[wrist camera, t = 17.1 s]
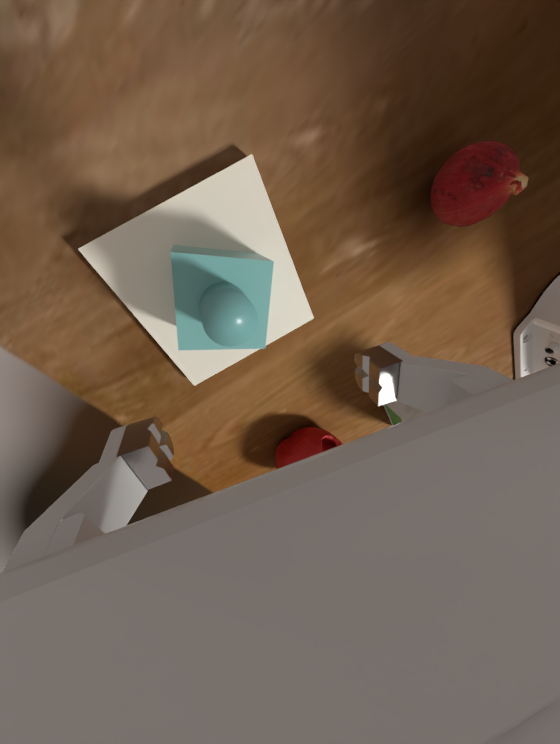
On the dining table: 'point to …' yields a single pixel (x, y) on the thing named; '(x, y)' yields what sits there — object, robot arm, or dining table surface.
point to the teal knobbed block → (220, 298)
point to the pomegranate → (304, 445)
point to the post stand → (205, 230)
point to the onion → (476, 183)
